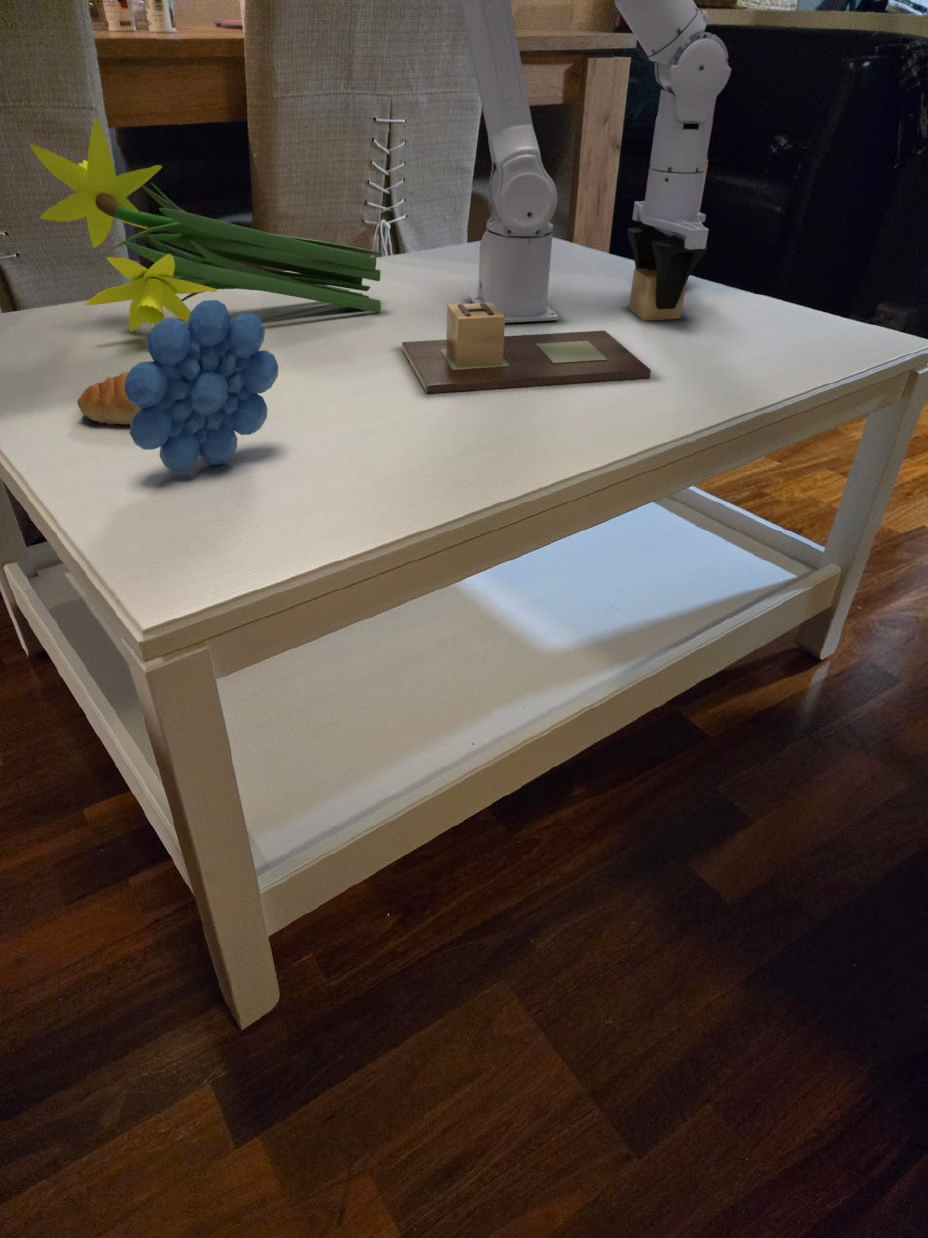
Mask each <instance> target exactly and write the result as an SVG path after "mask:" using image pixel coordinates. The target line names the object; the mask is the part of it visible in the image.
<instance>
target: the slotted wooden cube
mask: <svg viewBox="0 0 928 1238" xmlns="http://www.w3.org/2000/svg"><path fill="white" fill-rule="evenodd" d="M656 282H657V270H656V268H646V269H636V268H634V269H633V275H632V282H631V291H630V297H629V305H628V310H630V312H632V313H633V314H635V316H637V317H638V318H640V319H641V320H643V321H647V322H648V321H663V320H680V319H681V317H682V311H683V306H684V300H685V295H686V288H687V283H688V281H687V282H686V284H685V286H684V289H683V291H682V293H681V296H680V298H679V301H678V303H677V305H676V307H675V309H658V308H656Z"/></svg>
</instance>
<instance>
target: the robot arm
mask: <svg viewBox="0 0 928 1238" xmlns="http://www.w3.org/2000/svg"><path fill="white" fill-rule="evenodd" d="M459 3H460V8H461V12H462V17H463V23H464V26H465V32H466V36H467V41H468V47H469V51H470V57H471V61H472V65H473V70H474V74H475V79H476V84H477V88H478V90H477V91H478V94H479V97H480V98H479V99H480V103H481V109H482V114H483V117H484V123H485V128H486V133H487V140H488V148H489V153H490V158H491V172H490V177H489V180H488V191H489V196H490V199H491V201H492V203H493V205H494V206H495V208H496V210H495V211H493V212H492V214H491V216H490V217H489V218H488V219H487V220H486V230H485V232H484V233H483V235H482V237H481V240H480V243H479V259H478V260H479V261H478V289H477V294H476V295H475V294H474V295H470V296H469V300H470V302H471V303H472V304H474V303H493V304H494V305H495V306H496V307H497V308H498V310H499V311H500V312H501V313H502V314H503V315H504V316H505V324H511V323H528V322H546V321H547V322H548V321H558V320H559V315H558V314H557V313H556V312H555V311H554V310H553V309H552V308H551V307H550V306H548V295H549V294H548V293H549V284H550V283H549V282H550V271H551V258H552V247H553V245H552V244H553V232H554V231H553V230H554V225H553V223H551V222H550V221H551V219H552V218H553V217H554V214H555V213H556V209H557V207H558V206H557V205H558V191H557V188H556V184H555V182H554V180H553V179H552V177H551V176H550V175H549V173H548V172H547V171H546V169H545V166H544V164H543V162H542V156H541V151H540V147H539V143H538V139H537V135H536V133H535V129H534V125H533V120H532V114H531V108H530V103H529V98H528V91H527V86H526V81H525V80H526V79H525V75H524V70H523V69H524V68H523V65H522V64H523V63H522V58H521V54H520V53H521V52H520V48H519V42H518V36H517V30H516V26H515V19H514V14H513V8H512V3H511V0H459ZM614 5H615V7H616V8H617V9H618V11H619V13H620V15H621V16H622V18H623V19H624V21H625V23H626V24H627V26H628V27H629V29H630V31H632V32H631V33H633V35H634V37H635V38H636V41H638V43H639V45H640V46H641V48H642V49H643V51H644V53H645V54H646V56H647V57H648V59H649V61H651V62H654V74H655V75H654V76H655V81H656V82H657V84H659V85H660V86H661V87H662V88H663V89H660V94H659V95H660V96H659V102H658V109H657V116H656V118H655V123H654V131H653V137H652V145H651V152H650V161H649V167H648V175H647V181H646V189H645V196H644V200H642V201H641V200H640V201H637V200H635V201H634V205H633V212H632V220H633V221H635V222H641V223H640V225H639V226H638V227H631V228H628V229H627V231H626V234H627V237H628V240H629V243H630V246H631V249H632V253H633V254H632V255H633V258H634V267H635V268H634V269H646V268H656V270H657V282H656V308H658V309H675V307H676V305H677V303H678V301H679V298H680V296H681V293H682V291H683V289H684V286H685V284H686V285H687V283H688V280H689V278H690V276H691V274H692V273H693V270H694V269H695V268H696V266H697V264H698V263H699V262H700V260H701V259H702V258H703V256H704V255H705V254H706V252H707V248H708V247H707V241H708V236H709V228H708V227H706V226H704V225H703V223H704V222H706V217H707V214H705V213H703V212H701V211H700V212H697V210H698V204H699V198H700V192H701V186H702V180H703V175H704V169H705V164H706V158H707V157H708V151H709V146H710V140H711V134H712V128H713V123H714V112H715V107H716V100H717V97H718V96H719V94H721V92H722V91H723V90H724V88H725V86H726V85H727V83H728V81H729V80H730V79H729V78H730V76H731V74H732V73H731V72H732V68H731V66H729V62H728V59H729V52H728V49H727V47H726V44H725V42H724V41H723V40H722V39H721V38H720V37H719V36H718V35H716V34H713V33H712V32H708V31H705V30H706V28H707V25H708V24H709V23H710V22H711V17H710V16H709V14H708V12H707V10H701V11H700V9H699V8H698V6H697V4H696V3H695V0H614ZM686 282H687V283H686Z"/></svg>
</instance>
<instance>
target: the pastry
mask: <svg viewBox="0 0 928 1238" xmlns="http://www.w3.org/2000/svg"><path fill="white" fill-rule="evenodd" d="M128 373H129V371H126V372H125V371H124V372H122V373H120V374H119V375H117V376H113V377H112V376H111V377H107V378H106V379H105V380H104V381H103V382H97V383H95V384H94V385H89V386H88V387H87V388H86V389H85V390H84V391H83V392H82V393H81V395H80V397H78V398H77V400H76V401H77V406H78V408H79V410H80V412H81V414H83V415H84V416H85V417H86V418H88V419H90V420H92V421H95V422H98V423H99V424H101V425H102V424H107V425H110V426H114V425H125V426H131V422H132V419H133V417H134V416H135V414H136V413H137V412H138V411H139V410H140V409H142V408H139V407H137V406H135V405H134V404H132V403H131V402H130V401H129V399H128V397H127V395H126V393H125V391H124V387H125V380H126V377H127V374H128Z"/></svg>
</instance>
